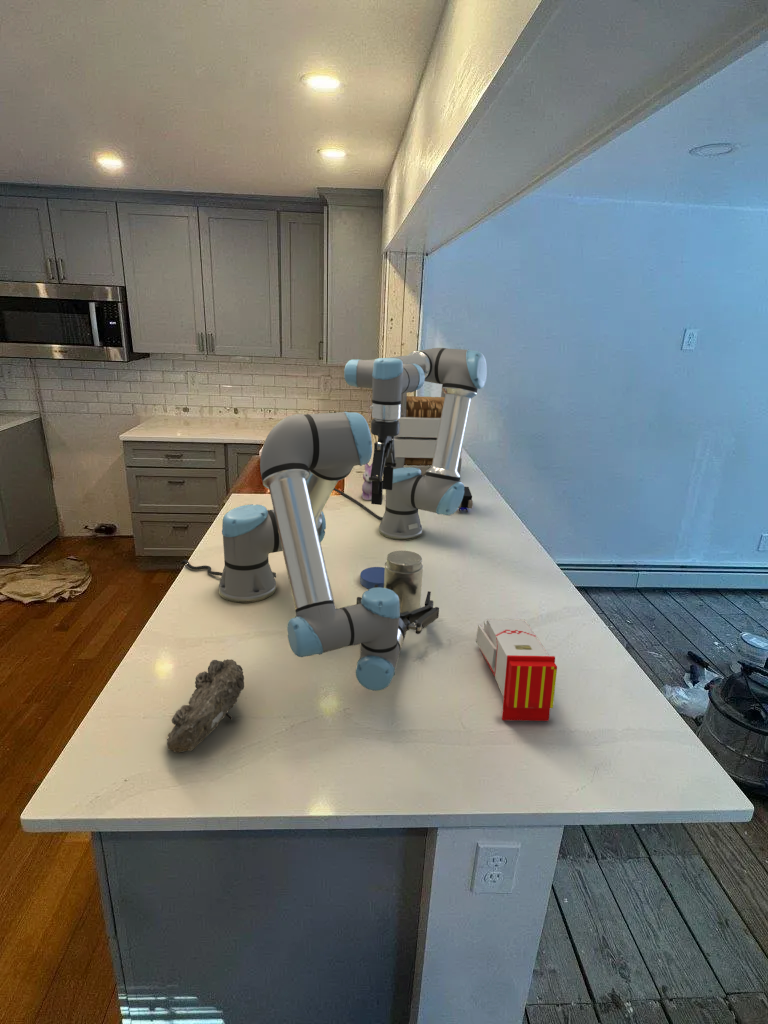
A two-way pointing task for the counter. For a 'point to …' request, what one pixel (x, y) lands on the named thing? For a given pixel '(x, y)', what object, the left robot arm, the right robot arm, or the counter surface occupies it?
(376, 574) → the lid
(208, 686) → the fossil
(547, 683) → the toy
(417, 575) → the jar
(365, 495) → the figurine
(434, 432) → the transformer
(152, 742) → the counter surface
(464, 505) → the figurine character
